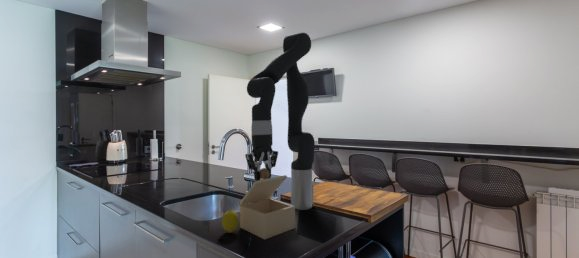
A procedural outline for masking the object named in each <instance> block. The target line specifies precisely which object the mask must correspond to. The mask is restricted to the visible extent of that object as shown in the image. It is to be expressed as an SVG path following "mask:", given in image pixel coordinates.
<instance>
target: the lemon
mask: <svg viewBox="0 0 579 258" xmlns="http://www.w3.org/2000/svg"><path fill="white" fill-rule="evenodd" d="M239 222H240V219H239V216H238V213H236V211H234V210H232V209H229V210H228V211H226V212H225V213H224V214H223V216H222V219H221V225H222V228H223V229H224V231H226V232H228V233H229V234H231V233H233V232H234V231H235V230H236V229H237V228H238V226H239Z"/></svg>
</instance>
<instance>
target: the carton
mask: <svg viewBox="0 0 579 258" xmlns="http://www.w3.org/2000/svg"><path fill="white" fill-rule="evenodd" d="M239 222H240V223H239V226H240V227H239V228H241V229H242V230H243V231H247V232H249V233H251V234H252V235H255V236H257V237H258V238H261V239H262V240H267V239H271V238H273V237H274V236H275V237H276V236H278V235H280V234H282V233H285V232H288V231H291V230H293V229H295V228H296V209H295V206H293V205H291V203H290V204H289V203H286V202H285V201H284V202H283V201H280V200H277V199H275V198H271V197H270V198H267V199H263V200H259V201H255V202H252V203H248V204H244V205H239Z"/></svg>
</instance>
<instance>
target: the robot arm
mask: <svg viewBox="0 0 579 258" xmlns="http://www.w3.org/2000/svg"><path fill="white" fill-rule="evenodd" d="M282 49H283V53H280V55H278V56H277V57H275V58H274V59H272V60H271V61H270V62H269V64H268V65H267V66H266V67H265V68H264V69H263V70H262V71H260V72H258V73H257V74H255V75H254V76H253V77H252V78H251V79H250V80H249V81H248V83H247V85H246V92H247V94H248V96H250V97H251V98H253V99H259V101H258V102H257V103H256V104H254V105H252V108H251V127H250V128H251V147H252V151H251V152H249V153H245V155H244V156H245V160H246V163H247V166H248V169H249V170H251V171H253V173H254V174H253V177H254V182H255V181H259V180H262V179H261V178H260V169H261V166H262V165H264V168H266V169H267V170H268V171H269V177H268V178H272V169H273V168H275V167H276V164H277V162H278V161H277V160H278V155H279V151H277V150H273V148H272V146H273V124H272V108H273V103H274V100H275V99H274V98H275V95H276V84H277V83H279V82H280V81H281V80H282V78H283V77H284V76H285V75H286V96H287V99H286V100H287V115H288V116H287V117H288V118H287V120H288V121H287V123H288V125H287V145H288V149H289V150H290V151H291V152H293V153H297V158H296V159H295V160H293V161H292V162H291V164H290V180H291V181H290V205H293V206H295V210H298V211H306V210H307V211H308V210H309V209H312V208H313V206H312V204H313V205H314V184H313V163H314V161H315V147H316V144H315V137H314V135H313V134H312V133H311V132H308V131H307V132H305V131H303V123H302V122H303V117H304V114H305V113H306V110H307V107H308V106H309V86H308V84H307V81H306V80H305V78H304V77H303V75H302V73H301V72H300V70H299V67H298V62H299V61H300V60H301V59H303V58H304V57H305V56H306V55H307V54H308V53H309V52H310V51H311V49H312V40H311V37H310V35H309V34H308V33H306V32H296V33H292V34H288V35H286V36H285V37H284V39H283V42H282Z"/></svg>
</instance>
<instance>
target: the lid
mask: <svg viewBox="0 0 579 258" xmlns="http://www.w3.org/2000/svg"><path fill="white" fill-rule="evenodd" d="M268 177H269V171H268V170H267V169H266V168H265V167H263V168H260V179H261V180H259V181H255V180H254V183H252V185H251V186H250V188H249V190H248V191H247V192H246V193H245V195H244V196H243V197H242V199H241V200H240V202H238V203H239V206H241V205H245V204H249V203H253V202H256V201H260V200H264V199H268V198H271V197H272V196H273V194H274V193H276V191H277V190H278V189H279V187H280V186H281V185H282V184H283V183H284V181H285V180H286V179H287V178H288V176H287V175H279V176H275V177H271V178H268Z"/></svg>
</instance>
